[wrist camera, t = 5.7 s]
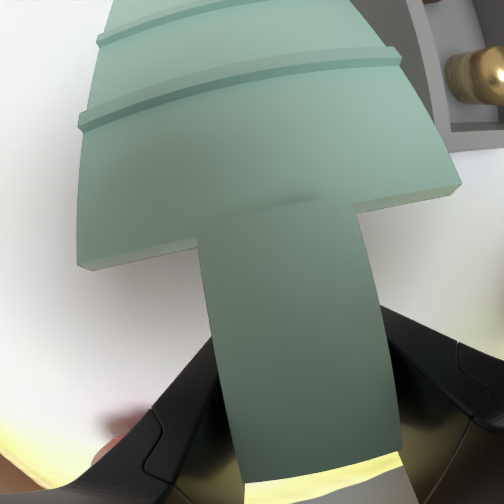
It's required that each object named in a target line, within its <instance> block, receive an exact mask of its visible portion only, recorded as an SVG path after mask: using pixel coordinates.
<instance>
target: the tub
mask: <svg viewBox="0 0 504 504" xmlns="http://www.w3.org/2000/svg"><path fill="white" fill-rule="evenodd" d="M349 1H350V2H351V3H352V4H353V6H354V7H355V8H356V9H357V10H358V11H359V13H360V14H361V15H362V16H363V17H364V19H365V20H366V21H367V22H368V24H369V25H370V26H371V27H372V29H373V30H374V31H375V33H376V34H377V35H378V37H379V38H380V39H381V41H382V42H383V43H384V45H385V46H386V47H395V49H396V50H397V51H398V53H399V54H400V56H401V57H402V59H401V62H400V65H399V66H400V68H401V69H402V71H403V72H404V74H405V75H406V77H407V78H408V80H409V82H410V83H411V85H412V86H413V88H414V90H415V91H416V93H417V95H418V96H419V98H420V100H421V101H422V103H423V105H424V107H425V108H426V110H427V112H428V114H429V116H430V117H431V119H432V121H433V123H434V125H435V127H436V129H437V131H438V133H439V135H440V136H441V138H442V140H443V142H444V145H445V147H446V149H447V151H448V153H453V152H462V151H472V150H483V149H495V148H504V106H501V105H468V104H464V103H462V102H460V101H459V100H458V99H456V98H455V96H454V95H453V94H452V92H451V91H450V89H449V87H448V85H447V82H446V77H445V66H446V63H447V61H448V59H449V58H450V57H451V56H452V55H455V54H459V53H464V52H469V51H474V50H479V49H484V48H490V47H495V46H503V47H504V0H441V1H439V2H436V3H429V4H423V2H422V0H349Z"/></svg>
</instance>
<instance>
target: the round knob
mask: <svg viewBox="0 0 504 504" xmlns="http://www.w3.org/2000/svg"><path fill="white" fill-rule="evenodd" d="M445 77H446V82H447V85H448V87H449V89H450V91H451V92H452V94H453V95H454V96H455V98H456V99H458V100H459V101H460V102H462V103H464V104H468V105H501V106H504V47H503V46H495V47H490V48H484V49H479V50H474V51H469V52H464V53H459V54H455V55H452V56H451V57H450V58H449V59H448V61H447V63H446V66H445Z"/></svg>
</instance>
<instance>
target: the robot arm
mask: <svg viewBox="0 0 504 504" xmlns="http://www.w3.org/2000/svg"><path fill="white" fill-rule="evenodd" d="M380 309H381V313H382V318H383V323H384V327H385V332H386V337H387V342H388V348H389V353H390V358H391V364H392V370H393V376H394V382H395V388H396V395H397V402H398V410H399V417H400V426H401V435H402V445H403V449H401V450H398V453H399V456H400V458H401V461H402V463H403V465H404V468H405V470H406V472H407V475H408V477H409V480H410V482H411V485H412V487H413V490H414V492H415V494H416V497H417V499H418V502H419V504H504V361H503V360H501V359H498V358H495V357H493V356H490V355H487V354H485V353H483V352H481V351H478V350H476V349H474V348H471V347H469V346H467V345H465V344H463V343H461V342H458V344H457V341H456V340H454V339H452V338H450V337H448V336H446V335H443V334H441V333H439V332H437V331H435V330H433V329H431V328H429V327H426V326H424V325H422V324H420V323H418V322H416V321H414V320H411V319H409V318H407V317H405V316H403V315H401V314H399V313H396V312H394V311H392V310H390V309H388V308H386V307H384V306H381V305H380ZM151 408H152V409H149V410H148V411H147V412H146V413H145V414H144V416H143V417H142V418H141V419H140V420H139V421H138V422H137V423H136V424H135V426H134V427H133V428H132V429H131V430H130V431H129V432H128V433H127V434H126V435H125V436H124V437H123V438H122V439H121V440H120V441H119V442H118V443H117V444H116V445H114V446H113V447H112V448H111V449H110V450H109V451H108V452H107V453H106V454H105V455H103V456H102V457H101V458H100V459H99V460H98V461H97V462H96V463H95V464H93V465H92V466H91V467H90V468H89V469H88V470H87V471H86V472H84V473H83V474H82V475H81V476H80V477H78V478H77V479H76V480H74V481H73V482H71V483H69V484H67V485H65V486H62V487H59V488H55V489H49V490H41V491H33V492H23V493H11V494H0V504H244V493H245V483H243V482H242V478H241V474H240V470H239V466H238V462H237V457H236V453H235V449H234V444H233V440H232V435H231V431H230V426H229V422H228V417H227V412H226V408H225V403H224V398H223V393H222V388H221V383H220V378H219V373H218V367H217V362H216V357H215V351H214V346H213V340H212V336H211V337H210V338H209V340H208V341H207V342H206V343H205V344H204V346H203V347H202V348H201V349H200V350H199V351H198V353H197V354H196V355H195V356H194V357H193V359H192V360H191V361H190V362H189V363H188V365H187V366H186V367H185V368H184V369H183V370H182V372H181V373H180V374H179V375H178V376H177V377H176V379H175V380H174V381H173V382H172V383H171V384H170V386H169V387H168V388H167V389H166V390H165V391H164V393H163V394H162V395H161V396H160V397H159V398H158V400H157V401H156V402H155V403H154V404H153V405H152V407H151Z"/></svg>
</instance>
